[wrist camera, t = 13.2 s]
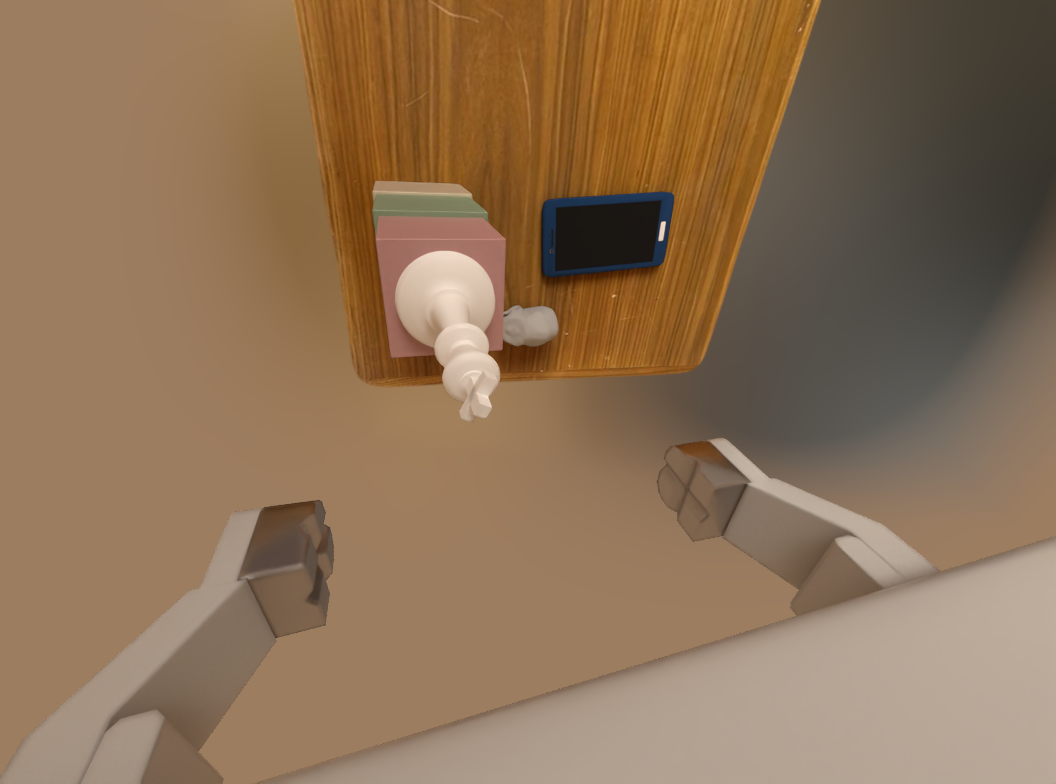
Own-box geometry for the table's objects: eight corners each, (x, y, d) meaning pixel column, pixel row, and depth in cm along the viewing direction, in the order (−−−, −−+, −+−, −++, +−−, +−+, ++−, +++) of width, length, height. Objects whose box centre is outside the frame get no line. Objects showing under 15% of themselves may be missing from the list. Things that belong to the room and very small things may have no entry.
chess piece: (511, 279, 21) (588, 373, 13) (467, 358, 23) (510, 485, 14) (421, 230, 19) (444, 307, 10) (378, 322, 20) (371, 450, 12)
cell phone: (660, 263, 45) (664, 265, 45) (541, 276, 42) (543, 278, 42) (672, 190, 41) (676, 191, 41) (541, 199, 38) (543, 200, 38)
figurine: (544, 335, 46) (559, 354, 42) (475, 330, 44) (483, 350, 40) (552, 303, 44) (567, 320, 40) (479, 295, 42) (489, 313, 38)
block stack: (375, 180, 34) (361, 226, 18) (459, 183, 36) (516, 228, 20) (385, 265, 38) (382, 367, 22) (461, 264, 40) (511, 357, 23)
